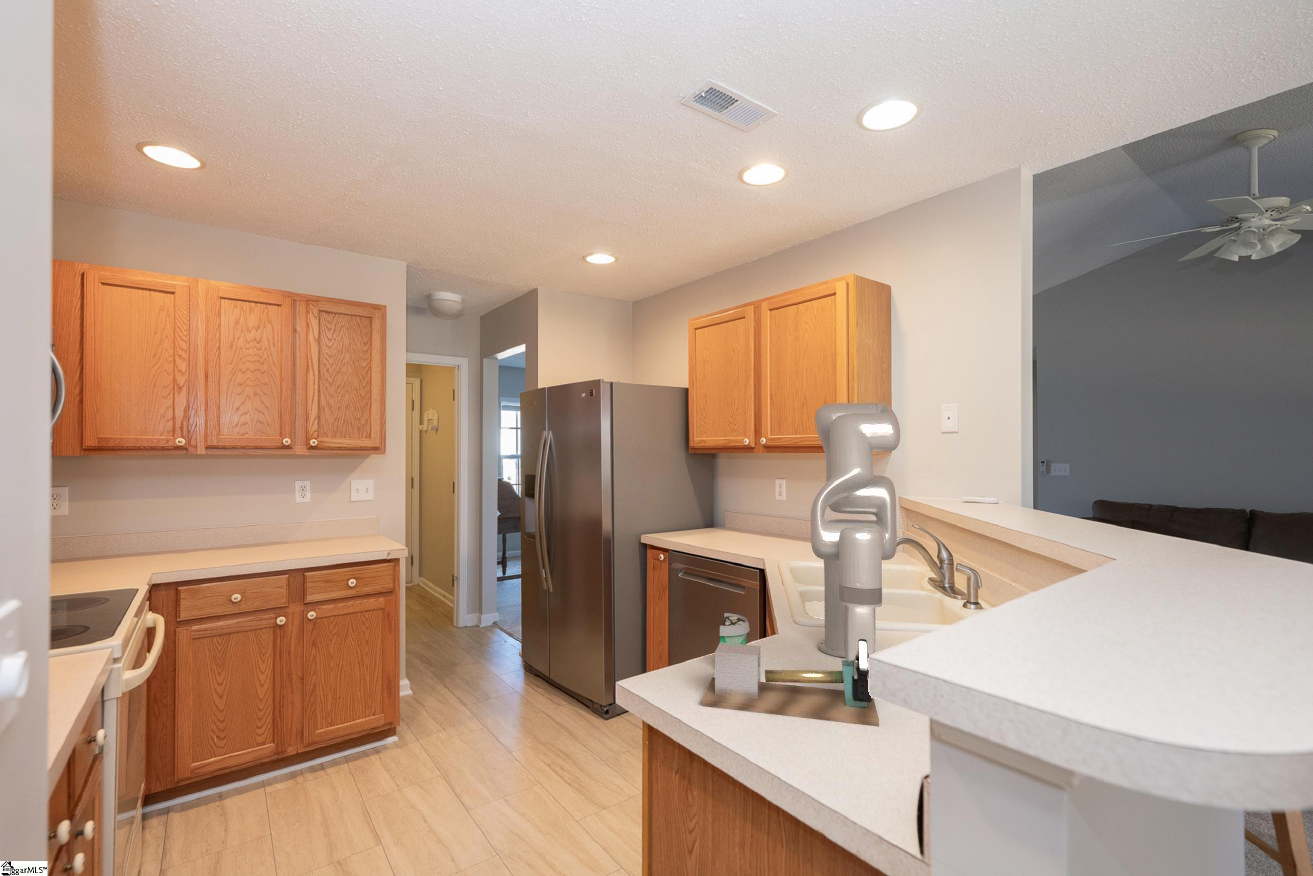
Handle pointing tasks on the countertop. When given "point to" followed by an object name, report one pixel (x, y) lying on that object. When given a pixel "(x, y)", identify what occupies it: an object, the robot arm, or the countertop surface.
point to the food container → (734, 629)
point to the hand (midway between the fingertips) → (860, 695)
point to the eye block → (737, 670)
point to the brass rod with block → (819, 679)
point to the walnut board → (796, 703)
